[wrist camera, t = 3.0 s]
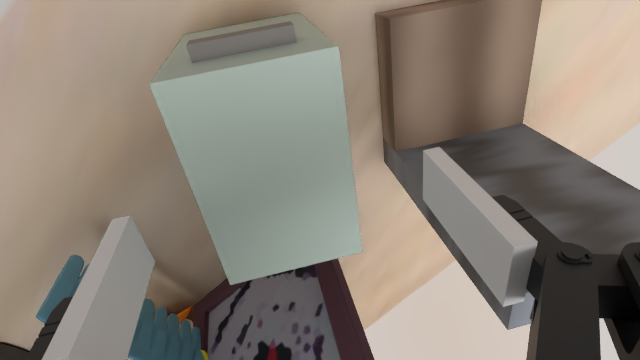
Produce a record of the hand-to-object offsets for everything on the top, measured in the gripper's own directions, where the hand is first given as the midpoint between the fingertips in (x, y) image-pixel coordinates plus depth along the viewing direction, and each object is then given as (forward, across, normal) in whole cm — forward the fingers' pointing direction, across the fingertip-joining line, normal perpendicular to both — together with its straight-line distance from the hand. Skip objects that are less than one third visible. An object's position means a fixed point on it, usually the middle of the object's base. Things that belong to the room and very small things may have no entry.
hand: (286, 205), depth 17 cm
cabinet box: (+14, 0, 0) cm, 14 cm away
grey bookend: (+14, +14, 0) cm, 20 cm away
